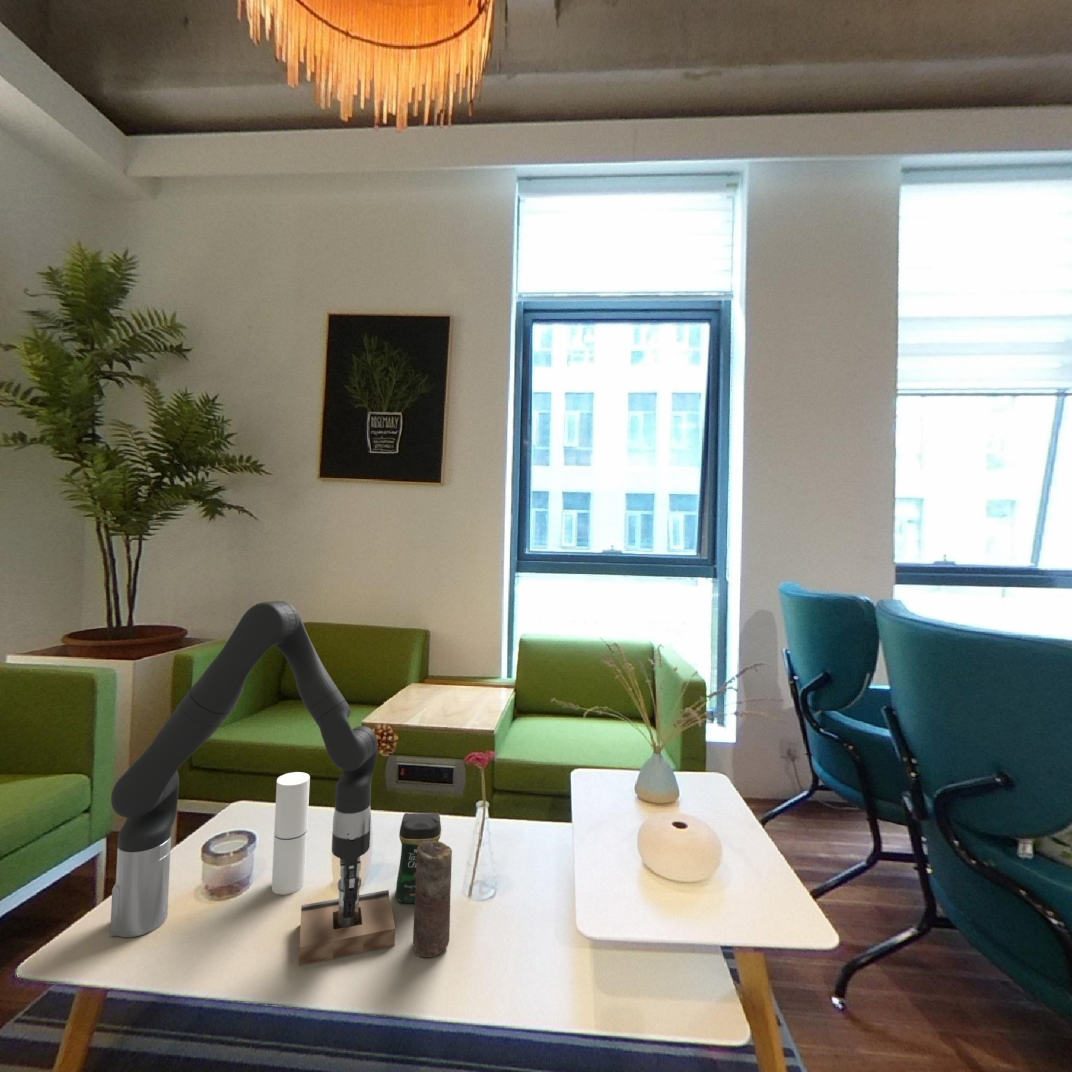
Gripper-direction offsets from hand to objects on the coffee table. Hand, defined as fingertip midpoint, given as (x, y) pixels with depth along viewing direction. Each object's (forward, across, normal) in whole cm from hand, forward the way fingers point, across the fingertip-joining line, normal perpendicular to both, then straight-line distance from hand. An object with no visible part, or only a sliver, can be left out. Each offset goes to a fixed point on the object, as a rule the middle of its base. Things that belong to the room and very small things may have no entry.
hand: (348, 909), depth 118 cm
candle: (+6, +8, +16) cm, 19 cm away
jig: (+5, 0, 0) cm, 5 cm away
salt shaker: (+2, 0, 0) cm, 2 cm away
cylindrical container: (+5, -21, -12) cm, 25 cm away
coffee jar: (+6, -9, +16) cm, 19 cm away
